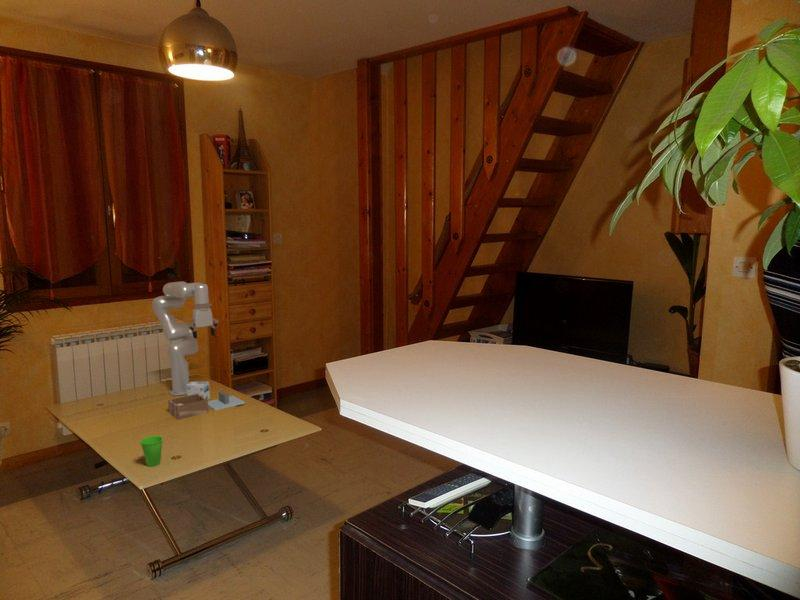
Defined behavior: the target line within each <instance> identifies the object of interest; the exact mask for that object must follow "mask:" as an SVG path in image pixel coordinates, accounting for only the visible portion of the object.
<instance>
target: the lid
mask: <svg viewBox="0 0 800 600" xmlns="http://www.w3.org/2000/svg"><path fill="white" fill-rule="evenodd" d="M244 404H245V401H244V400H242V399H240V398H238V397H236V396H234V395H231V396H230V395H229V393H226V392H225V391H218V398H217V399H213V400H208V408H210V409H212V410H213V411H219V410H223V409H227V408H231V407H237V406H238V407H239V406H241V405H244Z"/></svg>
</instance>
